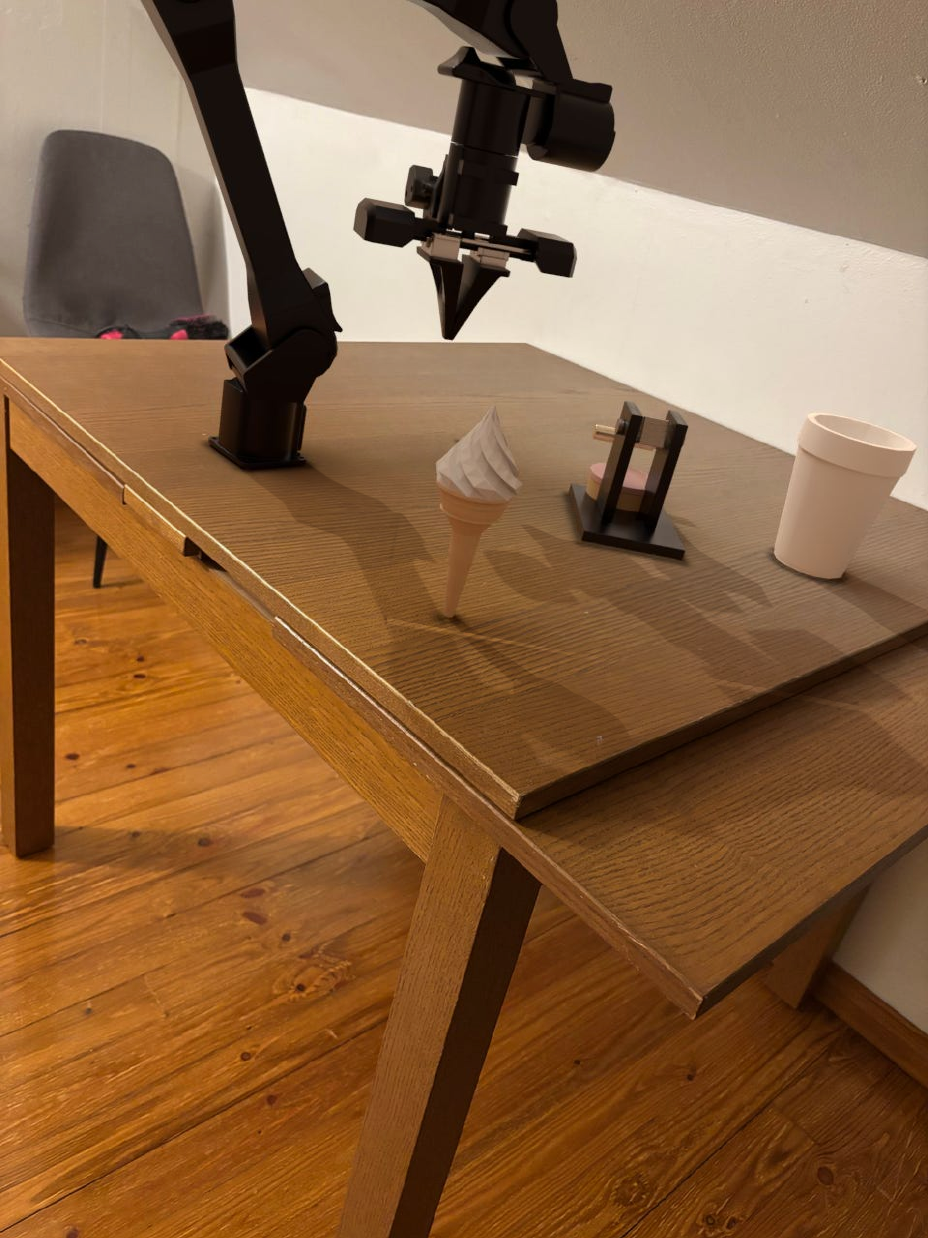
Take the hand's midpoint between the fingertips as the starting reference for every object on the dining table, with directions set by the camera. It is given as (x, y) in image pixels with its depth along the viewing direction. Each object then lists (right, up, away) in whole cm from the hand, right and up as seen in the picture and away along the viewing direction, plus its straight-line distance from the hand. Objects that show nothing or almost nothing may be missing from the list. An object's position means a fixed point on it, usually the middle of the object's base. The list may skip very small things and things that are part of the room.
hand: (447, 338), depth 88 cm
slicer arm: (+17, -9, +2) cm, 20 cm away
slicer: (+16, -17, +2) cm, 23 cm away
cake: (+16, -15, +6) cm, 22 cm away
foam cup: (+33, -20, +3) cm, 39 cm away
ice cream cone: (0, -25, -22) cm, 33 cm away
